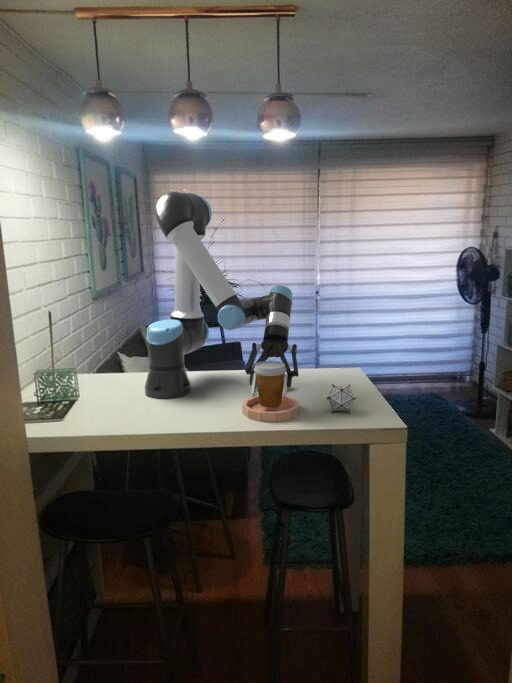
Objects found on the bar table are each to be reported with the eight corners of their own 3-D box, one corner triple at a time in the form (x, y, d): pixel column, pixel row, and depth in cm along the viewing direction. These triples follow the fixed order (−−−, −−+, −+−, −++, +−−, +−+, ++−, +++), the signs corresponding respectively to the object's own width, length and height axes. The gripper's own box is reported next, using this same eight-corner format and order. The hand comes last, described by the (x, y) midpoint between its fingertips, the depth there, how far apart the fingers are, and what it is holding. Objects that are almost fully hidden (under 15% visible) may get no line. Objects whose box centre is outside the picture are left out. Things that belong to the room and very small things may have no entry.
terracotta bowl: (234, 407, 154) (234, 399, 154) (282, 399, 161) (282, 391, 161) (257, 425, 140) (257, 416, 139) (308, 415, 147) (309, 407, 146)
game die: (333, 422, 151) (316, 393, 153) (356, 409, 153) (339, 380, 155) (343, 418, 143) (324, 387, 144) (367, 403, 145) (348, 373, 147)
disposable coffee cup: (287, 398, 154) (287, 360, 151) (286, 410, 145) (285, 369, 142) (256, 398, 155) (255, 360, 152) (252, 409, 146) (251, 369, 143)
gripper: (311, 337, 159) (306, 403, 147) (245, 335, 163) (235, 399, 151) (310, 323, 153) (304, 391, 141) (241, 322, 157) (230, 387, 145)
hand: (268, 395), depth 146 cm, fingers closed on disposable coffee cup, 8 cm apart
